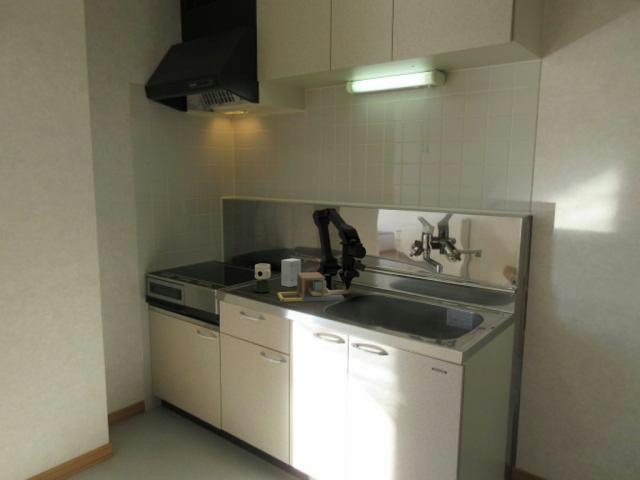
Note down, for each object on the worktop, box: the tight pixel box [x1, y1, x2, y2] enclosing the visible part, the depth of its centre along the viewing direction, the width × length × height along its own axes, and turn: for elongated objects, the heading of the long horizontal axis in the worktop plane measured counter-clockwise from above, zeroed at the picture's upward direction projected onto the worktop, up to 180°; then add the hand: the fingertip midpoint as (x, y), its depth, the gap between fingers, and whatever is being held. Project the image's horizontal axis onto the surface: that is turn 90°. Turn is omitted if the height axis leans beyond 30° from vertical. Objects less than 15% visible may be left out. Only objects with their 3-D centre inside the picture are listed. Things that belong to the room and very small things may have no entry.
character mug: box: [254, 263, 272, 294], centre depth 217 cm, size 11×7×13 cm, turn 46°
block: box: [313, 280, 326, 291], centre depth 210 cm, size 5×5×5 cm
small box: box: [280, 258, 302, 288], centre depth 233 cm, size 8×6×13 cm
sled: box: [309, 284, 351, 296], centre depth 211 cm, size 8×18×6 cm, turn 104°
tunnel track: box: [277, 271, 345, 303], centre depth 209 cm, size 12×28×10 cm, turn 104°
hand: (346, 288), depth 213 cm, fingers closed on sled, 2 cm apart
